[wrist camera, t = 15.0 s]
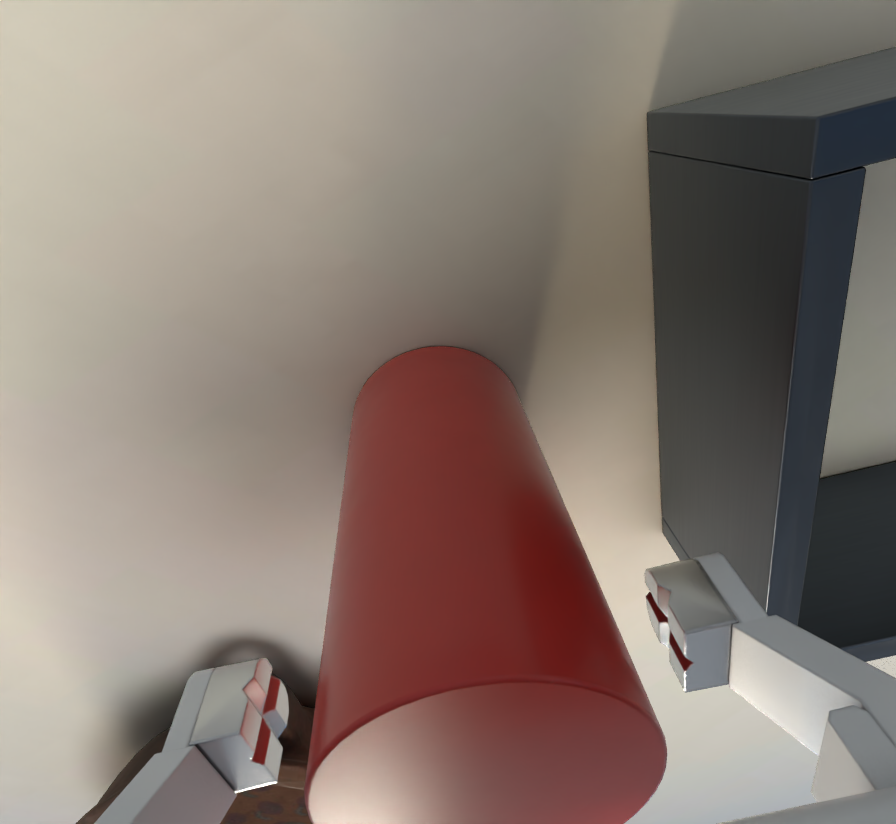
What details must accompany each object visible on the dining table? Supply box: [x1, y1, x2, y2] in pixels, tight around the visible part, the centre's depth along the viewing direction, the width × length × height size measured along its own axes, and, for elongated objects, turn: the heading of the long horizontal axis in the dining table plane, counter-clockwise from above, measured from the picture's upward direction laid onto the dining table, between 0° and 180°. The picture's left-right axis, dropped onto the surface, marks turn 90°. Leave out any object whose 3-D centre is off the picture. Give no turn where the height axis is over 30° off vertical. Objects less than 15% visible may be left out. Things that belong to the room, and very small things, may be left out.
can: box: [304, 346, 667, 824], centre depth 14 cm, size 6×6×12 cm
